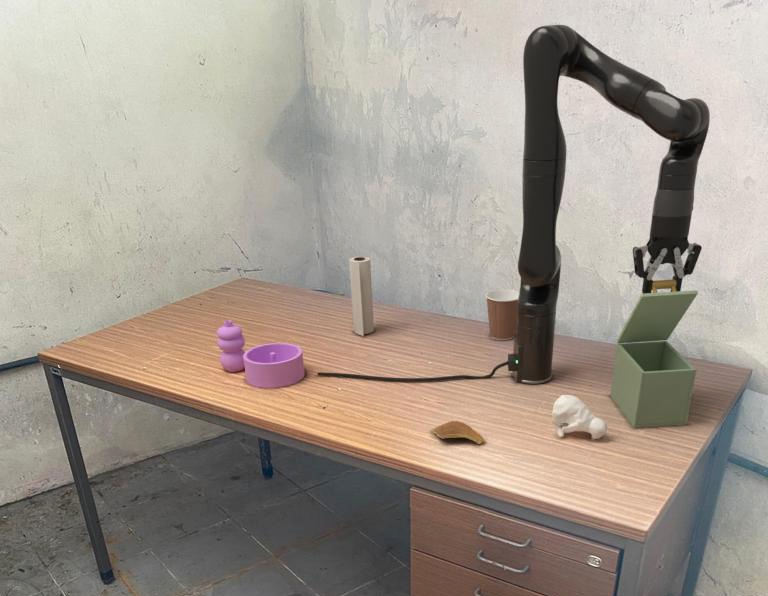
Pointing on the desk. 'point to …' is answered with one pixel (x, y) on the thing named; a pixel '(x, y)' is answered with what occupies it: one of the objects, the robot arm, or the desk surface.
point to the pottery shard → (457, 431)
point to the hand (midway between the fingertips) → (660, 295)
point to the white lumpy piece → (576, 417)
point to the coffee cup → (502, 313)
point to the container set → (260, 359)
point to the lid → (656, 313)
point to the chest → (652, 384)
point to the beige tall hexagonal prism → (361, 295)
